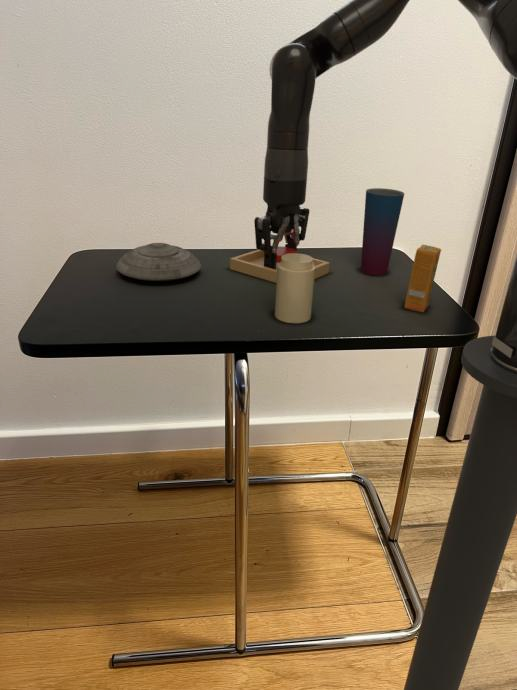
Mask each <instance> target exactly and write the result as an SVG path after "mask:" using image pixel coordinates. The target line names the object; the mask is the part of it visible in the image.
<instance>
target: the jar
mask: <svg viewBox="0 0 517 690" xmlns="http://www.w3.org/2000/svg"><path fill="white" fill-rule="evenodd" d="M313 258H314V257H312V256H311V255H308V254H305V253H290V254H285V255H283V256H281V262H280V263H278V266H277V282H276V283H275V284H276V285H275V302H274V317H275V319H276V320H278V321H280V322H283V323H288V324H303V323H306V322H309V321H310V320H311V319H312V311H313V301H314V290H315V282H316V281H315V280H316V279H315V270H316V267H315V265H314V264H313V263H314V262H313Z"/></svg>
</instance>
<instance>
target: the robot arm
mask: <svg viewBox="0 0 517 690" xmlns="http://www.w3.org/2000/svg"><path fill="white" fill-rule="evenodd" d="M410 1H411V0H350V1H348V2H347V3H345V4H344V5H343V6H341V7H340V8H338V9H337V10H335V11H333V12H331V14H329V15H328V16H327V17H325V18H324V19H323V20H322V21H321V22H320V23H319V24H317V25H316V26H314V27H313V28H312V29H309V30H308V31H306V32H305V33H303V34H301V35H300V36H298V37H296V38H294V39H293V40H291V41H290V42H288V43H286V44H285V45H283V46H282V47H280V48H279V49H278V50H276V51H275V53H274V54H273V55H272V56H271V60H270V63H269V68H268V70H269V77H270V80H271V94H270V95H271V96H270V97H271V99H270V101H271V102H270V114H269V116H268V121H267V135H266V152H265V156H264V170H263V173H264V174H263V189H262V191H263V193H262V200H263V202H264V203H265V204H266V206H267V209H266V212H265V215H264V216H262V217H259V216H255V218H254V221H253V223H254V234H255V249H256V250H262V251H264V267H268V268H271V269H275V270H276V261H277V253H276V251H277V248H278V246H280V243H281V242H282V241H283V240H284V241H285V244H284V247H289V248H293V249H295V250H296V251H298V246H299V245H300V242H302V241H305V239H306V234H307V229H308V223H309V217H310V209H309V208H307V207H302V205H304V204H305V202H306V197H307V186H308V185H307V184H308V172H309V171H308V170H309V141H310V119H311V118H310V117H311V116H310V115H311V110H312V106H313V101H314V94H315V88H316V80H317V78H320V76H322V75H323V74H325V73H326V72H328V71H329V70H331V69H332V68H333V67H335V66H338V65H340V64H343V63H345V62H347V61H349V60H350V59H352V58H354V57H355V56H357V55H358V54H360V53H361V52H363V51H365V50H366V49H368V48H369V47H370V46H372V45H374V44H375V43H377V42H378V41H379V40H381V39H382V38H383V37H384V36H385V35H386V34H387V33H388V32H389V30H391V28H392V27H393V26H394V24H395V23H396V22H397V20H398V19H399V17H400V16H401V14H402V13H403V11H404V10H405V8H406V7H407V5H408V4H409V2H410ZM457 1H458V2H459V3H460V4H461V6H463V7H464V8H465V10H467V11H468V12H469V14H471V15H472V16H473V18H474V19H475V21H476V22H477V24H478V27H479V29H480V31H481V32H482V34H483V35H484V37H485V38H486V40H487V42H488V44H489V46H490V47H491V50H492V51H493V53H494V54H495V56H496V57H497V59H498V61H499V62H500V64H501V65H502V67H503V68H504V70H506V71H507V72H508V74H510V76H512V77H513V78H514V79H515V80H517V0H457ZM272 233H273V234H272ZM272 241H273V242H272ZM296 253H297V252H296ZM507 285H508V286H507V289H506V293H505V297H504V301H503V305H502V309H501V312H500V316H499V320H498V324H497V328H496V332H495V335H494V336H495V337H494V338H493V341H492V345H493V346H492V348H491V351H490V357H491V359H492V360H493V361H494V362H495V363H496V364H498V365H499V366H501V367H502V368H504V369H506V370H509V371H511V372H513V373H516V374H517V254H516V256H515V259H514V262H513V266H512V269H511V274H510V278H509V281H508V284H507Z"/></svg>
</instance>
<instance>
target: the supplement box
mask: <svg viewBox="0 0 517 690" xmlns="http://www.w3.org/2000/svg"><path fill="white" fill-rule="evenodd" d="M441 252H442V249H441V248H440V247H437V246H434V245H433V246H431V245H427V244H421V246H420V247H417V249H416V251H415V255H414V260H413V265H412V268H411V273H410V278H409V281H408V287H407V292H406V297H405V302H404V309H406V310H410V311H414V312H418V313H425V311H426V310H427V308H428V307H429V304H430V303H429V302H430V299H431V294H432V290H433V285H434V282H435V277H436V273H437V269H438V264H439V260H440V256H441Z"/></svg>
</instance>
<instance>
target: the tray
mask: <svg viewBox="0 0 517 690" xmlns="http://www.w3.org/2000/svg"><path fill="white" fill-rule="evenodd" d="M312 258H313V262H314V263H313V264H314V265H315V267H316V270H315V280H317V279H318V278H321V277H323V276H325V275H327V274H329V273H330V265H331V264H330V263H331V262H329V261H326V260H321V259H317V258H314V257H312ZM277 266H278V263H277V262H276V270H275V269H271V268H268V267H264V251H262V250H258V249H256V250H253V251H249V252H246V253H243V254H240V255H237V256H234V257H230V258H229V269H230V270H232V271H235V272H237V273H241V274H244V275H248V276H251V277H255V278H258V279H262V280H265V281H267V282H271V283H275V284H276V282H277Z"/></svg>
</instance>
